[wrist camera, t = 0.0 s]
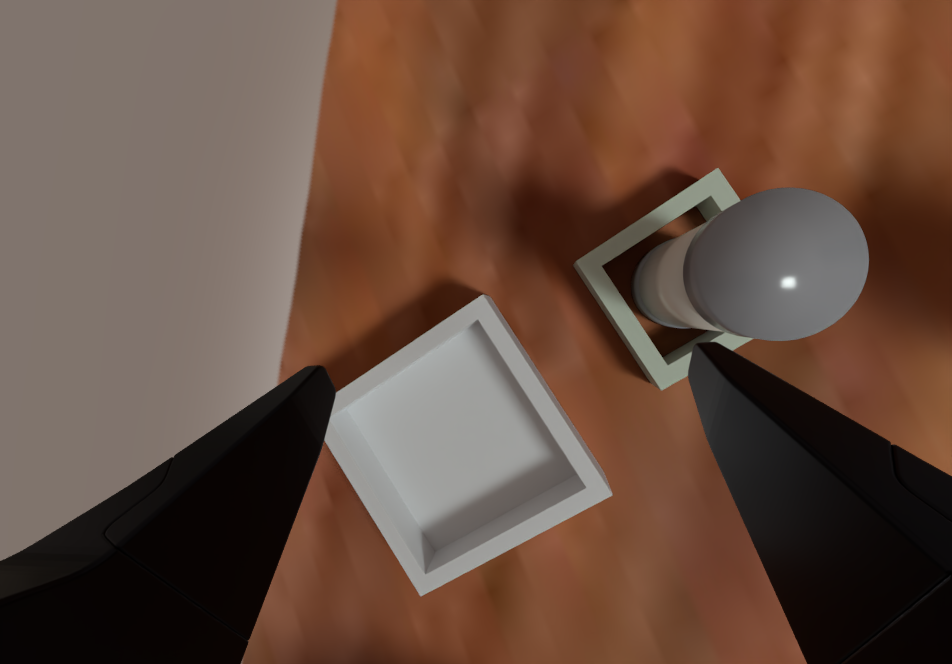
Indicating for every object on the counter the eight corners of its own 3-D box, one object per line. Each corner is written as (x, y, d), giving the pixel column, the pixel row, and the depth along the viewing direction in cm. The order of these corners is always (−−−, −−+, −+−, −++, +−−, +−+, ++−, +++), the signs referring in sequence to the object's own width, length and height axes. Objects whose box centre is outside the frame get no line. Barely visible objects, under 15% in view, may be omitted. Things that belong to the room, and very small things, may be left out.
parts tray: (603, 472, 24) (612, 495, 21) (434, 563, 26) (420, 596, 23) (489, 296, 24) (482, 294, 21) (333, 400, 27) (307, 412, 24)
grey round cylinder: (740, 296, 22) (902, 286, 12) (661, 343, 23) (752, 369, 13) (690, 224, 22) (811, 155, 12) (614, 273, 23) (669, 245, 13)
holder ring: (787, 305, 22) (812, 304, 20) (651, 383, 23) (661, 390, 21) (702, 180, 22) (717, 167, 20) (572, 265, 23) (575, 261, 21)
